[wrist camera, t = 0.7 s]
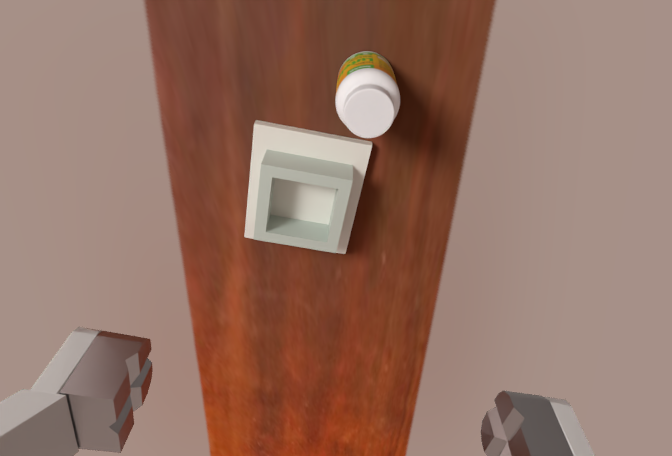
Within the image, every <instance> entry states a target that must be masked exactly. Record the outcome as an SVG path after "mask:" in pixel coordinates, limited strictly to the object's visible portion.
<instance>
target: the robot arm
mask: <svg viewBox="0 0 672 456" xmlns="http://www.w3.org/2000/svg"><path fill="white" fill-rule="evenodd" d="M150 351H151V342H150V339H147V338H141V337H136V336H130V335H124V334H118V333H112V332H107V331H101V330H94V329H88V328H81V327H78V328H77V329H75V330H74V331H73V332H71V334H70V335H69V337H68V338H67V339H66V341H65V342H64V344H63V345H62V346H61V348H60V349H59V350H58V352H57V353H56V355H55V356H54V357H53V359H52V360H51V362H50V363H49V364H48V366H47V367H46V369H45V370H44V371H43V373H42V374H41V375H40V377H39V378H38V380H37V381H36V383H35V384H34V385H33V387H32V388H31V389H30V390H27V389H22V390H20V391H18V392H17V393H15V394H13V395H11V396H10V397H8V398H6V399H4V400H3V401H1V402H0V456H74V455H75V454H76V453H77V452H78V451H79V450H78V449H88V450H98V451H109V452H118V453H121V451H122V449H123V446H124V444H125V442H126V440H127V438H128V435H129V433H130V431H131V429H132V427H133V425H134V419H133V411H135V410H136V409H138V408H139V407H140V406H141V405H143V402H144V400H145V398H146V395H147V393H148V389H149V386H150V382H151V377H152V362H151V361H150V360H149V359H148V358H147V357H148V355H149V353H150ZM495 404H496V407H495V408H493V409H491V410H489V411H487V413H486V415H485V417H484V419H483V421H482V427H481V439H482V445H483V449H484V452H485V453H486V455H487V456H595V455H594V452H593V450H592V448H591V446H590V444H589V442H588V440H587V438H586V436H585V434H584V432H583V430H582V428H581V426H580V423H579V421H578V419H577V417H576V415H575V413H574V411H573V409H572V407H571V405H570V404H569V403H568V402H567V401H566V400H563V399H556V398H550V397H543V396H539V395H531V394H524V393H517V392H509V391H502V392H500V393H499V394H498V395H497V397H496V398H495Z"/></svg>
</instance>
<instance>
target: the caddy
mask: <svg viewBox="0 0 672 456" xmlns="http://www.w3.org/2000/svg"><path fill="white" fill-rule="evenodd" d="M371 149H372V142H370V141H365V140H359V139H354V138H349V137H343V136H338V135H333V134H327V133H322V132H317V131H312V130H306V129H301V128H296V127H290V126H285V125H280V124H274V123H269V122H264V121H259V120H256V121H255V123H254V133H253V144H252V156H251V167H250V179H249V190H248V202H247V213H246V225H245V236H244V237H247V238H253V239H255V240H261V241H267V242H273V243H279V244H285V245H291V246H297V247H302V248H308V249H314V250H320V251H326V252H332V253H342V254H346V250H347V246H348V242H349V238H350V234H351V230H352V226H353V221H354V217H355V213H356V209H357V205H358V201H359V197H360V193H361V189H362V185H363V181H364V177H365V173H366V169H367V165H368V161H369V157H370V153H371Z"/></svg>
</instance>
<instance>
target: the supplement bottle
mask: <svg viewBox="0 0 672 456" xmlns="http://www.w3.org/2000/svg"><path fill="white" fill-rule="evenodd" d="M399 107H400V93H399V89H398V85H397V82H396V79H395V75H394V72H393V69H392V67H391V65H390V64H389V62H388V61H387V60H386V59H385V58H384V57H383V56H381V55H379V54H377V53H374V52H369V51H364V52H359V53H356V54H354V55H352V56H351V57H349V58H348V59H347V60H346V61H345V62H344V63H343V65H342V67H341V69H340V71H339V74H338V80H337V89H336V110H337V113H338V115H339V117H340V119H341V120H342V122H343V123H344V124H345V125H346V126H347V127H348V128H349V130H350V131H351V132H352V133H354V134H355V135H357V136H359V137H363V138H374V137H377V136H380V135H382V134H383V133H385V132H386V131H387V130H388V129H389V128H390V126H391V125H392V122H393V120H394V119H395V117H396V115H397V113H398V111H399Z"/></svg>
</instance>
